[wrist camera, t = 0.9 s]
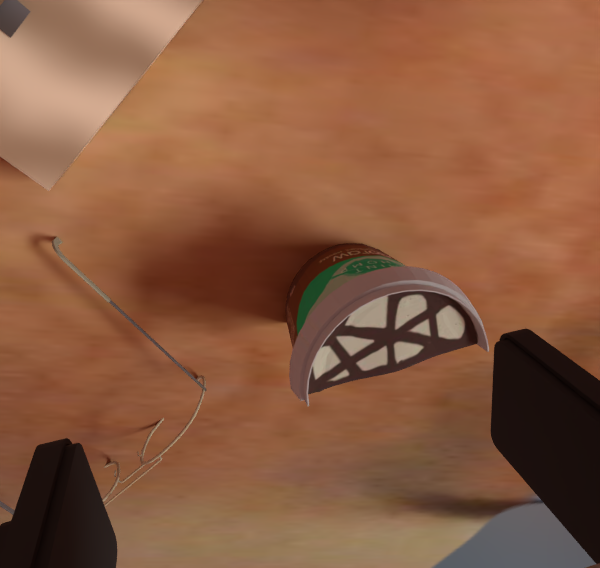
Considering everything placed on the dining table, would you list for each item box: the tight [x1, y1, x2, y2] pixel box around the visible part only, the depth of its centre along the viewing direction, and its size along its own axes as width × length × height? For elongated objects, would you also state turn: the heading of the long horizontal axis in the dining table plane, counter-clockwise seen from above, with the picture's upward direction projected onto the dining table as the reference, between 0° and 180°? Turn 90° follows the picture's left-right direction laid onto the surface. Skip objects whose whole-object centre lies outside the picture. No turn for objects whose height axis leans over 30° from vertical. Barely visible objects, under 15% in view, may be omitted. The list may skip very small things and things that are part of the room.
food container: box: [286, 244, 489, 406], centre depth 33 cm, size 12×6×10 cm, turn 100°
